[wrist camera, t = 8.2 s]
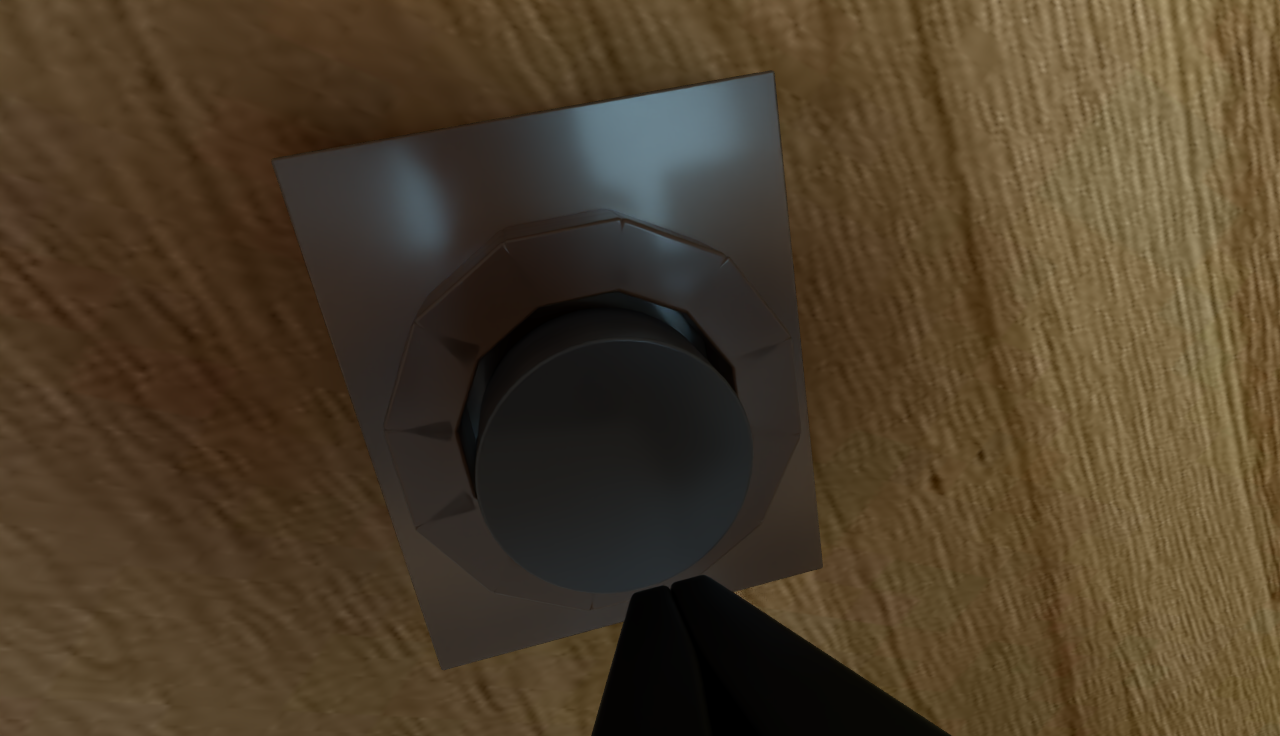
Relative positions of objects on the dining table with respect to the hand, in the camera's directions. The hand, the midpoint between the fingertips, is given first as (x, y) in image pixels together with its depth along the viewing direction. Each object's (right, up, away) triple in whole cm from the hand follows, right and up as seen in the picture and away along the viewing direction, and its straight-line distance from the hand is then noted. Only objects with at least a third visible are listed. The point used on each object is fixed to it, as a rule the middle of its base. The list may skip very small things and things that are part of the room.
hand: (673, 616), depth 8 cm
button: (-1, +2, +5) cm, 6 cm away
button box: (-2, +3, +8) cm, 9 cm away
